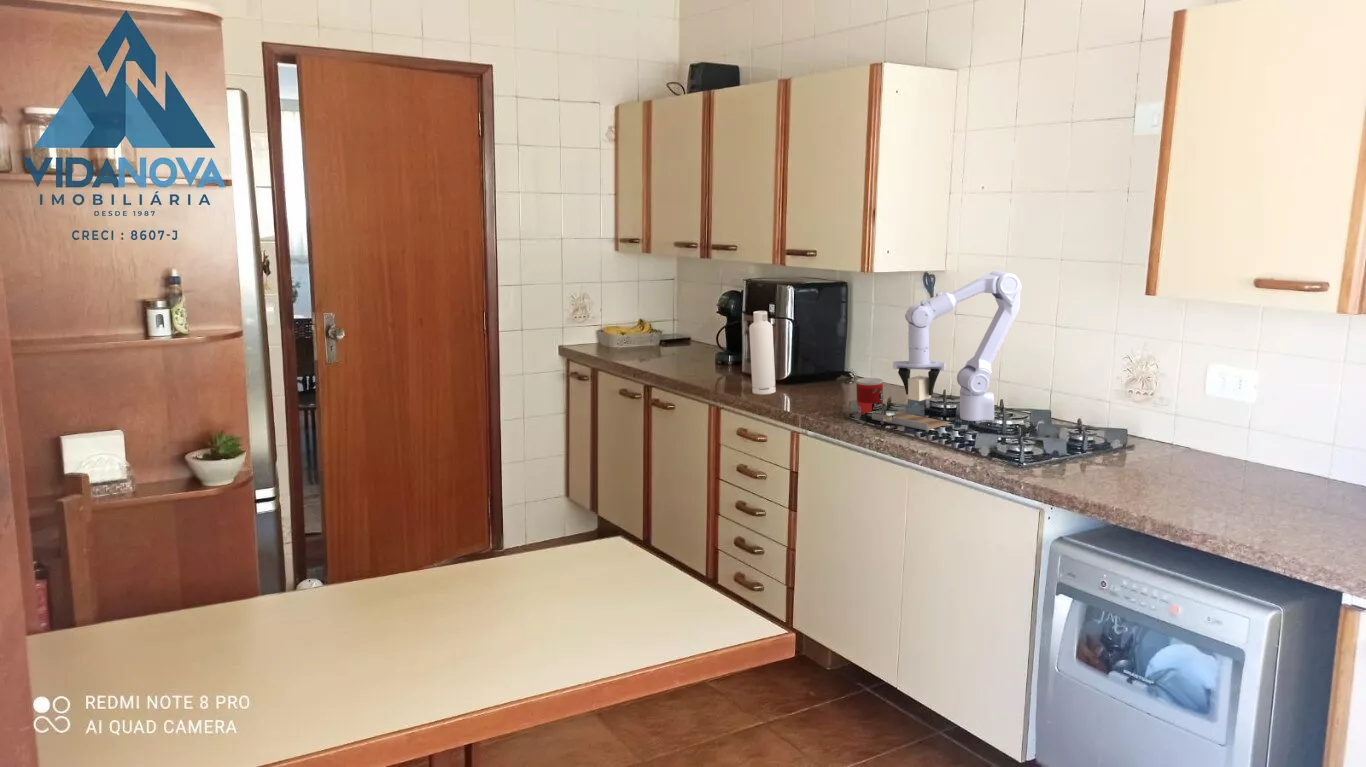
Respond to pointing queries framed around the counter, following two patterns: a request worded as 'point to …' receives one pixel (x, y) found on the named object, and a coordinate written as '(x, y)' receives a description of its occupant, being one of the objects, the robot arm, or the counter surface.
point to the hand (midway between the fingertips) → (919, 394)
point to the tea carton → (918, 388)
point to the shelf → (910, 420)
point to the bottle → (762, 354)
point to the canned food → (869, 394)
